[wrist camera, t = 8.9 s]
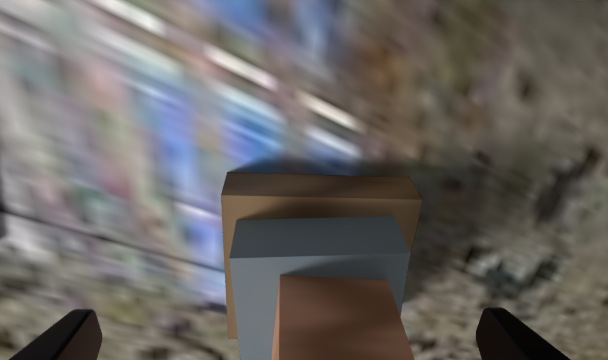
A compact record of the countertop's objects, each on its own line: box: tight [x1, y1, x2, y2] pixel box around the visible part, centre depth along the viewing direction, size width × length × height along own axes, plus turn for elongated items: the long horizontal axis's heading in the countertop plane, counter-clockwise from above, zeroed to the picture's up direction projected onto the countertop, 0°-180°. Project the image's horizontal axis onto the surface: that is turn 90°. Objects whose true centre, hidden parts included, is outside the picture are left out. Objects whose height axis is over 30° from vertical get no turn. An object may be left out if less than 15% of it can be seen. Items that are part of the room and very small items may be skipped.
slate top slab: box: [229, 216, 411, 360], centre depth 21 cm, size 8×8×3 cm
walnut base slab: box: [221, 172, 423, 339], centre depth 23 cm, size 10×10×3 cm
